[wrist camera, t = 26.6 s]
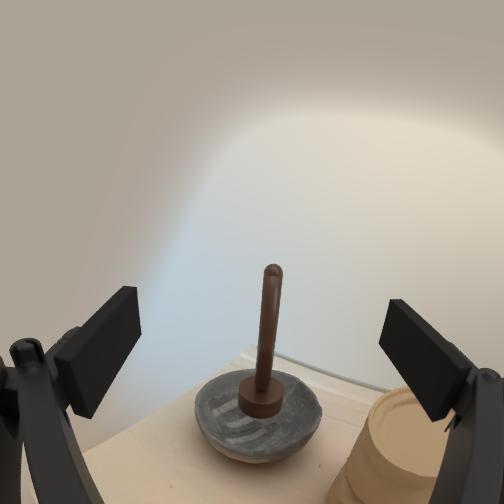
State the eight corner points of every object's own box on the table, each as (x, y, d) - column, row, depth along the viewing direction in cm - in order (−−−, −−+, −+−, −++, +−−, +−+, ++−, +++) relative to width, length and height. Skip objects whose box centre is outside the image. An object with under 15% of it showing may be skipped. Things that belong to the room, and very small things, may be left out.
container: (417, 483, 25) (479, 395, 20) (394, 551, 15) (483, 482, 10) (342, 464, 31) (382, 374, 27) (304, 529, 21) (349, 458, 16)
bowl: (258, 386, 50) (262, 352, 48) (334, 435, 37) (346, 402, 35) (175, 425, 38) (169, 390, 36) (249, 501, 26) (253, 474, 24)
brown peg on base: (231, 412, 33) (237, 268, 28) (245, 386, 39) (254, 253, 34) (276, 423, 32) (299, 277, 27) (285, 394, 37) (305, 260, 32)
